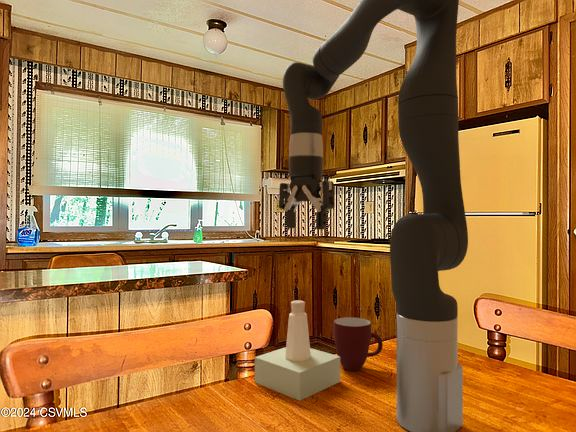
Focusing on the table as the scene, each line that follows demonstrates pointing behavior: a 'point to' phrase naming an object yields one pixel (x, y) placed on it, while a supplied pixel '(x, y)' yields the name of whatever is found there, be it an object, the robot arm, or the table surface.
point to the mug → (354, 342)
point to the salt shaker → (298, 334)
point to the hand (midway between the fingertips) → (305, 228)
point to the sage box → (297, 373)
